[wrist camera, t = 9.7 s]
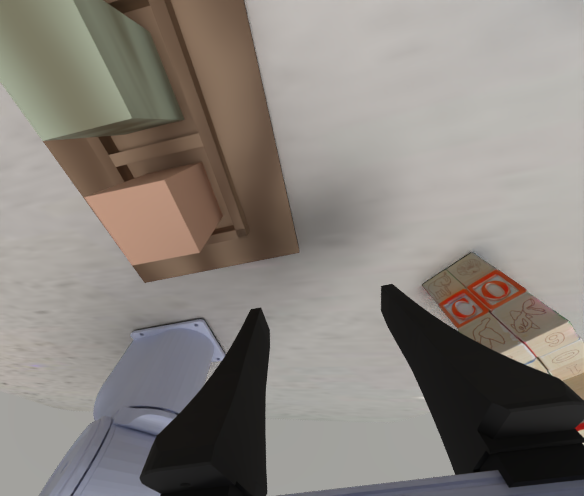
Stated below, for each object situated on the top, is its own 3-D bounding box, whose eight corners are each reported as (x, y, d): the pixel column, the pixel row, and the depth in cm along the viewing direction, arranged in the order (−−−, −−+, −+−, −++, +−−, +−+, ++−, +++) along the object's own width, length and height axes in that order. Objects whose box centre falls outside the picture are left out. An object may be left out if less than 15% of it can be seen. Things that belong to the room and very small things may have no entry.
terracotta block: (173, 226, 19) (132, 265, 14) (146, 173, 17) (84, 197, 11) (222, 216, 19) (199, 252, 13) (201, 161, 16) (164, 180, 11)
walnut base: (149, 276, 23) (101, 332, 17) (-67, -38, 12) (-446, -212, 6) (298, 247, 22) (305, 295, 15) (214, -132, 10) (123, -476, 4)
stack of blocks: (418, 284, 25) (520, 405, 14) (471, 249, 23) (637, 361, 12) (490, 356, 33) (591, 468, 22) (535, 335, 31) (669, 449, 20)
